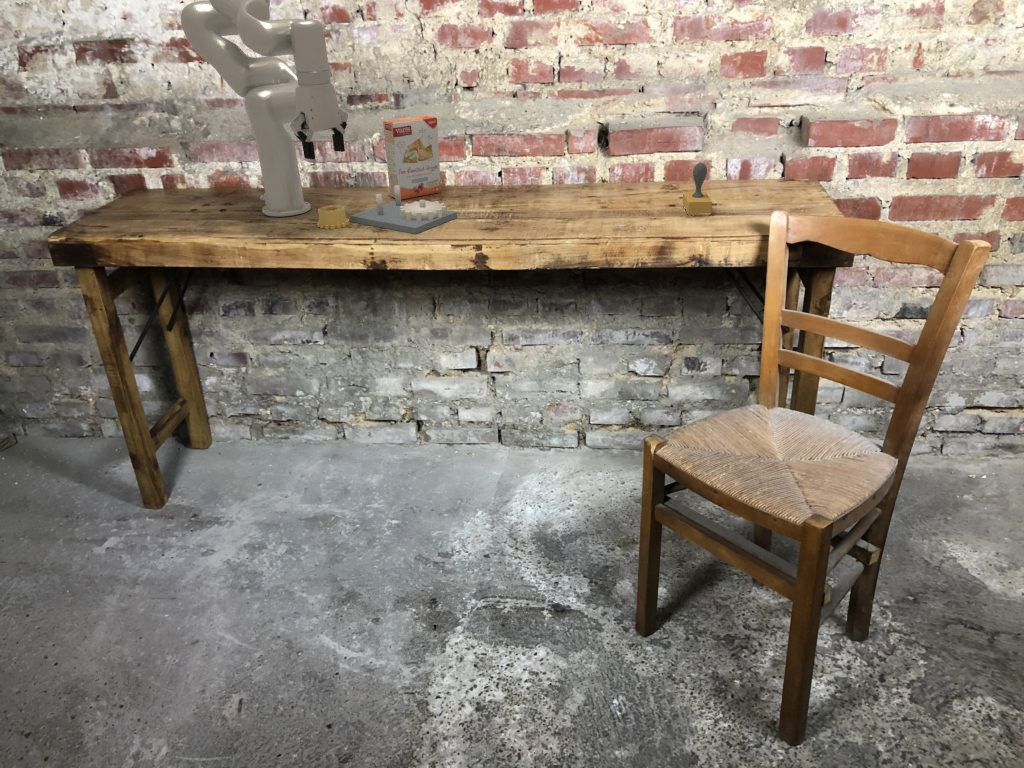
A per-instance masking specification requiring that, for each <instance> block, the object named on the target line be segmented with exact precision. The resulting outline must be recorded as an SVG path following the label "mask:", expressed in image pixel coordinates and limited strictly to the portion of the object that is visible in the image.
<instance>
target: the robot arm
mask: <svg viewBox="0 0 1024 768" xmlns="http://www.w3.org/2000/svg"><path fill="white" fill-rule="evenodd" d="M270 5H271V0H197V1H194V2H191V3H188V4H187V5H185V6H184V7H183V8H182V9H181V12H180V24H181V27H182V31H183V33H184V35H185V37H186V40H187V41H188V43H189V45H190V46H191V48H192V49H193V50H194V51H195V52H196V53H197V55H199V56H200V57H201V58H202V59H203V60H204V61H206V62H207V63H208V64H209V65H210V66H211V67H213V69H214V70H215V71H216V72H217V73H218V74H219V76H220V77H221V78H222V79H223V80H224V81H225V82H226V84H228V86H229V88H231V89H232V91H233V92H235V94H236V95H238V97H240V98H243V99H244V106H245V107H244V108H245V110H246V115H247V116H248V119H249V122H250V125H251V128H252V131H253V135H254V139H255V144H256V149H257V150H256V151H257V155H258V156H257V157H258V161H259V166H260V171H261V176H262V182H263V188H264V192H263V194H260V196H259V199H260V201H264V202H265V205H264V206H263V207H262V209H261V210H262V213H263V214H264V215H265V216H268V217H275V218H276V217H290V216H298V215H300V214H305V213H307V212H309V211H310V210H311V209H312V208H311V203H310V202H308V201H305V200H304V193H303V188H302V187H303V186H302V181H301V174H300V169H299V168H300V167H299V162H298V161H299V160H298V154H297V151H296V150H297V149H296V145H295V141H294V138H293V137H292V135H291V134H290V133H289V132H288V130H287V128H285V127H284V125H286V124H289V125H290V128H291V130H292V132H293V134H294V136H295V137H296V138H297V139H298V141H299V142H301V144H302V145H301V146H302V151H303V156H304V157H303V158H304V159H307V160H315V159H316V152H315V146H314V142H313V141H311V140H312V138H313V136H314V133H318V132H322V131H323V132H324V131H327V130H331V131H332V132H333V133H332V135H331V137H332V144H333V150H334V151H335V152H340V153H344V152H345V151H346V148H345V147H346V146H345V141H344V135H345V134H346V131H345V130H346V128H347V125H348V123H347V122H348V119H349V113H347V112H345V111H343V110H341V109H340V106H339V102H338V101H339V100H338V97H337V94H336V90H335V87H334V84H333V83H332V80H331V78H332V77H333V73H332V71H330V66H329V58H328V57H329V56H328V49H327V43H326V36H325V29H324V25H323V22H321V21H320V20H318V19H303V18H288V19H286V18H283V19H282V18H280V19H270V15H271V14H270V13H271V11H270ZM226 36H228V37H229V36H239V38H240V40H241V42H242V43H243V44H244V45H245V46H246V47H247V48H248V49H250V50H252V51H253V52H254V53H256V54H258V55H259V57H258V56H257V57H251V56H248V55H247V54H246V53H245V52H244V51H243V49H242V48H240V47H239V45H237V44H236V43H235V42H233V41H231V40H229V39H227V38H225V37H226ZM281 56H293V61H294V66H295V71H294V70H293V68H291V67H290V66H289V64H288V63H286V61H285V60H283V59H281V58H279V57H281Z"/></svg>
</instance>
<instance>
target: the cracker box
mask: <svg viewBox="0 0 1024 768" xmlns="http://www.w3.org/2000/svg"><path fill="white" fill-rule="evenodd" d="M382 124H383V133H384V134H383V135H384V142H385V143H384V144H385V154H386V166H387V177H388V186H389V196H390V197H391V198H394V199H395V192H394V186H395V185H399V186H400V194H401V201H402V200H407V199H413V198H417V197H418V196H419V197H424V196H429V195H434V194H440V193H442V183H441V182H442V181H441V180H442V179H441V167H440V166H441V164H440V150H439V149H440V148H439V147H440V146H439V133H438V132H439V131H438V130H439V129H438V118H437V117H436V116H433V115H428V114H425V115H418V116H417V115H416V116H409V117H400V118H391V119H386V120H383V121H382Z"/></svg>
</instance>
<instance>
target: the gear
mask: <svg viewBox="0 0 1024 768" xmlns="http://www.w3.org/2000/svg"><path fill="white" fill-rule="evenodd" d="M345 208H346V207H345V206H344V205H338V204H335V205H324V206H322V207H318V209H317V214H318V219H319V220H317V222H316V226H317V228H319V227H320V228H319V229H322V230H323V228H324V229H325V230H330V229H331V230H333V229H334V230H335V229H341V228H345V227H347V226H349V225H350V222H351V221H350V218H347V217H346V209H345Z"/></svg>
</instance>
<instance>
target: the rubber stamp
mask: <svg viewBox="0 0 1024 768" xmlns="http://www.w3.org/2000/svg"><path fill="white" fill-rule="evenodd" d="M707 174H708V167H707V166H706V164H705V163H702V162H697V163H696V164H695V165H694V167H693V169H692V178H693V181H694V184H695V191H684V192H683V193H682V203H683V205H684V207H685V209H686V211H687V213H689V214H691V213H692V214H693V213H711V214H712V209H713V201H712V199H711V198H710V197H709V195H708V194H707V193H706V191H702V186H703V183H704V182H705V179H706V177H707ZM683 205H682V206H683ZM684 207H683V208H684ZM685 209H684V210H685ZM686 211H685V212H686ZM687 213H686V214H687Z"/></svg>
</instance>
